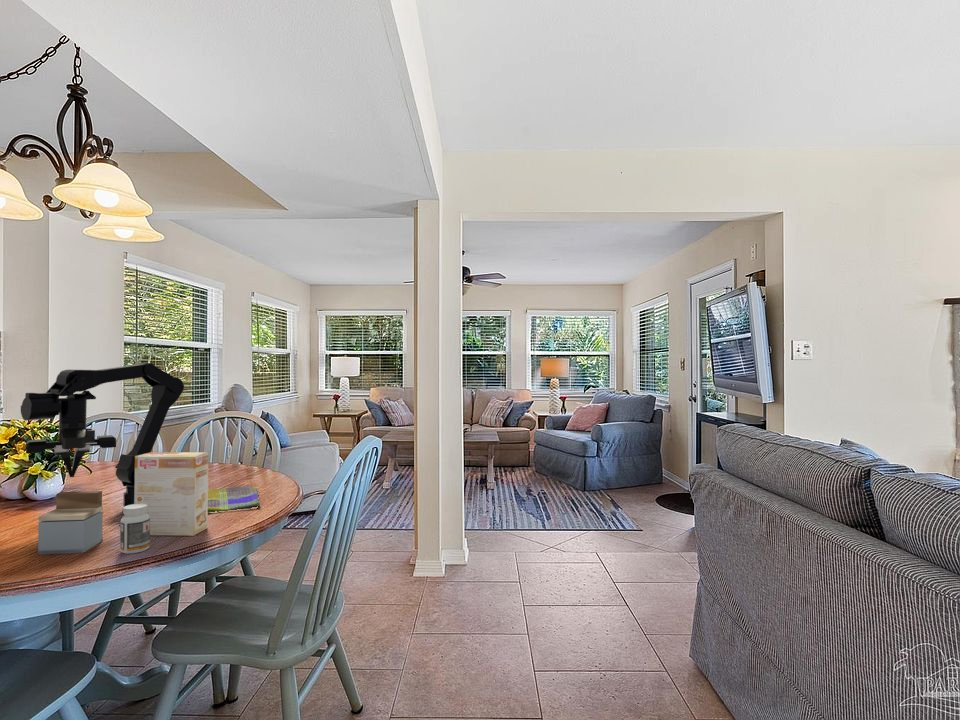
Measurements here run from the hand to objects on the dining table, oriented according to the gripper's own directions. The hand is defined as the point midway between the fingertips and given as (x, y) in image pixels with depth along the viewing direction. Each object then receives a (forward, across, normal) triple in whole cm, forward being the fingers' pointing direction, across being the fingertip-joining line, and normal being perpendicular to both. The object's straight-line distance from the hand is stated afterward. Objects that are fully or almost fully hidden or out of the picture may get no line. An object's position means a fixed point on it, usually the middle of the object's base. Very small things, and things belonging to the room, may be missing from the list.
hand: (71, 476), depth 142 cm
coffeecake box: (+12, +19, -24) cm, 33 cm away
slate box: (+12, -1, -23) cm, 26 cm away
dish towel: (+13, +38, -2) cm, 40 cm away
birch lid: (+5, -1, -23) cm, 24 cm away
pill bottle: (+12, +10, -34) cm, 37 cm away
